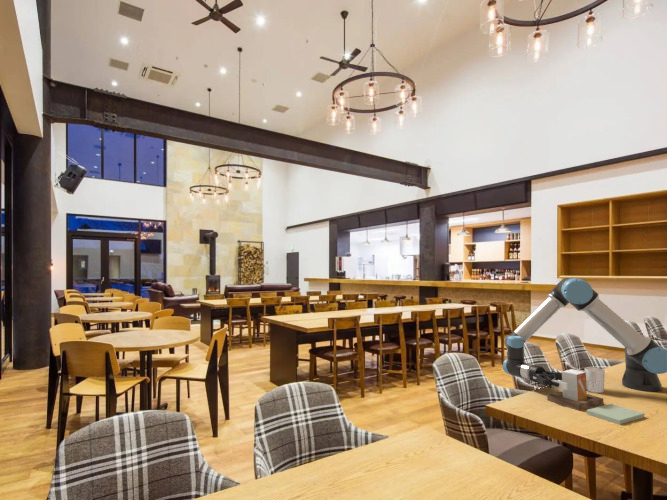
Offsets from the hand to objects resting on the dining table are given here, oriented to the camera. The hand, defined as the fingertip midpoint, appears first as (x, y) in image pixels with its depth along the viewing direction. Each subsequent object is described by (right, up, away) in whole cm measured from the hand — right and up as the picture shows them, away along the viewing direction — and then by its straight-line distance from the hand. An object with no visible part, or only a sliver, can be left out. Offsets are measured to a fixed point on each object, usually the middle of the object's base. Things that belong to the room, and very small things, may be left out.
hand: (577, 384), depth 166 cm
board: (+6, -7, -14) cm, 17 cm away
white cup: (+19, -9, +17) cm, 27 cm away
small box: (0, -8, +1) cm, 8 cm away
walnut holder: (0, -8, +1) cm, 8 cm away
